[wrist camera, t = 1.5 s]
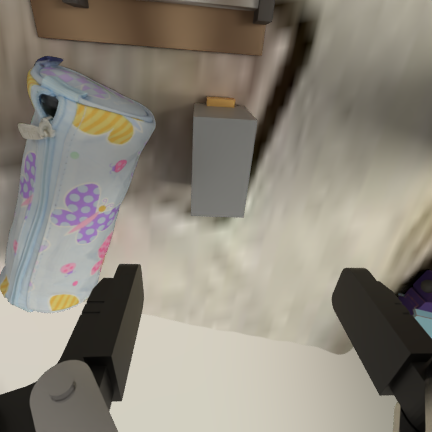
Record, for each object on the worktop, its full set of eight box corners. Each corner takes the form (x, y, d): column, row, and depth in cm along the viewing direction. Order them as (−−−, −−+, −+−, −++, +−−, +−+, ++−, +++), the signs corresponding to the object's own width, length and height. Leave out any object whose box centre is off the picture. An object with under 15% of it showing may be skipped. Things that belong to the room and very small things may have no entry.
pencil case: (65, 50, 21) (-18, 45, 13) (167, 100, 24) (151, 123, 15) (31, 242, 30) (-30, 309, 22) (107, 265, 33) (77, 333, 25)
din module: (245, 99, 24) (258, 111, 18) (235, 186, 28) (243, 217, 23) (194, 95, 23) (193, 107, 18) (192, 185, 28) (191, 215, 22)
